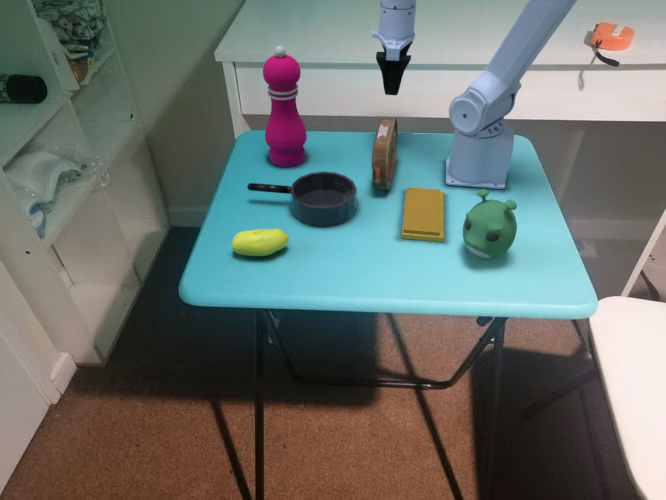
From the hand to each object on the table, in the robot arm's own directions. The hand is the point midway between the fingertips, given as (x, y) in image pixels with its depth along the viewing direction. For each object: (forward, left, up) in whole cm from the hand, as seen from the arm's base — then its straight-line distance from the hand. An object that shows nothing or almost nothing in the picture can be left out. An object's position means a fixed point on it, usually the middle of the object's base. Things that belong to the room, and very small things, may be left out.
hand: (392, 86), depth 95 cm
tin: (0, +13, -11) cm, 16 cm away
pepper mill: (+18, +10, -10) cm, 23 cm away
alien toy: (-15, +32, -11) cm, 37 cm away
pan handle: (+17, +24, -8) cm, 30 cm away
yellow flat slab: (-7, +24, -10) cm, 27 cm away
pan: (+9, +24, -10) cm, 27 cm away
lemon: (+16, +36, -11) cm, 40 cm away
